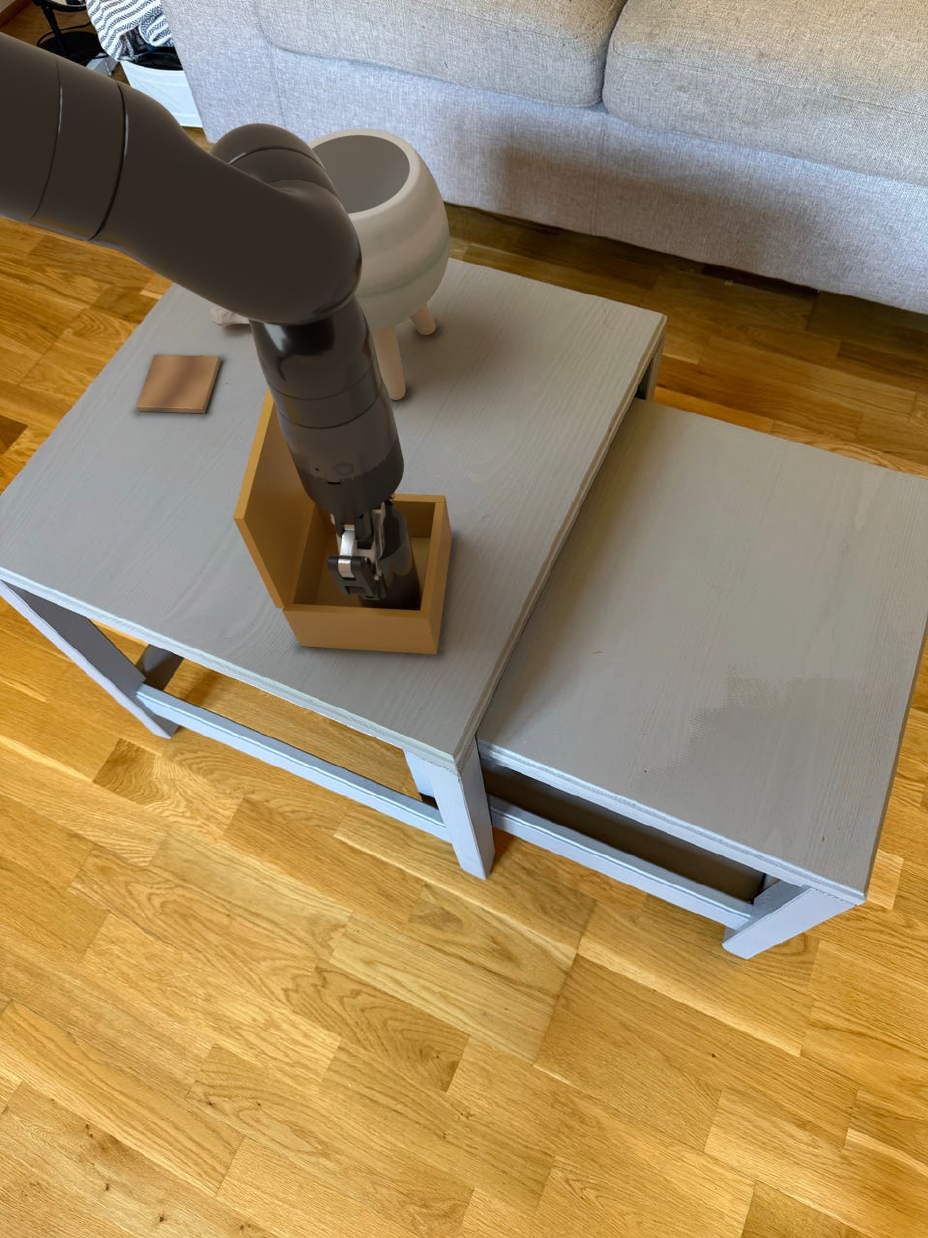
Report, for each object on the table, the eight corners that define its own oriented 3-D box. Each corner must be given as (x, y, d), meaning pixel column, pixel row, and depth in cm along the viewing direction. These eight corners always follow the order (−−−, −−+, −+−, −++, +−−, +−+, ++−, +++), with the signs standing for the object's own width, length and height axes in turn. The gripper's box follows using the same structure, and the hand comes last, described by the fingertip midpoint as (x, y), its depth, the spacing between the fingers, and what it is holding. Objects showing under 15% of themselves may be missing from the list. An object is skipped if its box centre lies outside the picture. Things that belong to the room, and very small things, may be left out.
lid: (278, 383, 70) (268, 382, 70) (243, 518, 64) (232, 518, 64) (312, 486, 82) (303, 486, 82) (285, 608, 76) (275, 608, 76)
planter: (409, 436, 93) (373, 259, 73) (286, 381, 98) (221, 201, 78) (490, 333, 99) (476, 143, 79) (369, 286, 104) (328, 96, 84)
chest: (452, 536, 87) (445, 495, 81) (436, 654, 81) (428, 619, 75) (324, 530, 88) (308, 489, 82) (300, 646, 83) (281, 611, 77)
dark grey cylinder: (357, 630, 82) (330, 560, 71) (367, 575, 85) (342, 500, 74) (420, 633, 81) (402, 564, 71) (428, 578, 84) (411, 503, 73)
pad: (138, 411, 98) (135, 406, 97) (156, 359, 101) (154, 354, 100) (205, 413, 97) (202, 408, 96) (221, 360, 100) (219, 355, 99)
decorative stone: (226, 346, 101) (218, 326, 98) (205, 317, 103) (197, 296, 101) (294, 312, 103) (288, 292, 100) (272, 284, 105) (265, 263, 102)
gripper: (307, 351, 65) (350, 490, 80) (266, 517, 59) (322, 634, 73) (409, 354, 64) (434, 493, 79) (379, 522, 58) (413, 640, 73)
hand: (380, 560), depth 76 cm, fingers closed on dark grey cylinder, 6 cm apart
